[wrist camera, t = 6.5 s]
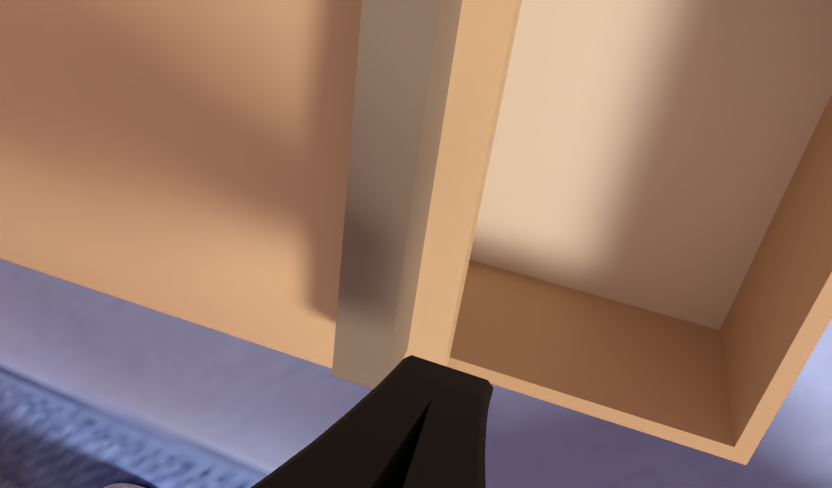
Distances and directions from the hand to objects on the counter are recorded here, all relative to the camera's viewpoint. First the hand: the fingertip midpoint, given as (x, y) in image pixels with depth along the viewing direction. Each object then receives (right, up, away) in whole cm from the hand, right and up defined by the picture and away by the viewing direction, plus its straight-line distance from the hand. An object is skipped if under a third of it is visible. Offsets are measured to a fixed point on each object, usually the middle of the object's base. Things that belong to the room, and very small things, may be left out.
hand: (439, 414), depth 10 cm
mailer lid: (-5, +6, +4) cm, 9 cm away
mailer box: (+4, +6, +7) cm, 10 cm away
